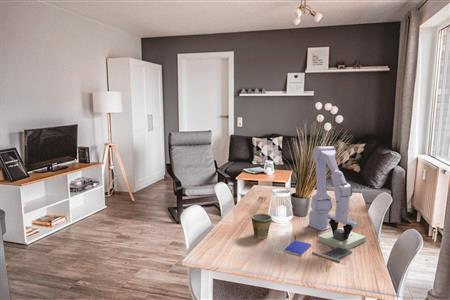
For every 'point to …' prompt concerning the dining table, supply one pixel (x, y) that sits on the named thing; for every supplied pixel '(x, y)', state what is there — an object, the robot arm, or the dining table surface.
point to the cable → (326, 256)
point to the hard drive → (297, 248)
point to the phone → (338, 252)
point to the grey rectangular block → (339, 235)
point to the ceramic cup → (261, 225)
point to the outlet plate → (352, 241)
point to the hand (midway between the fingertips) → (340, 237)
